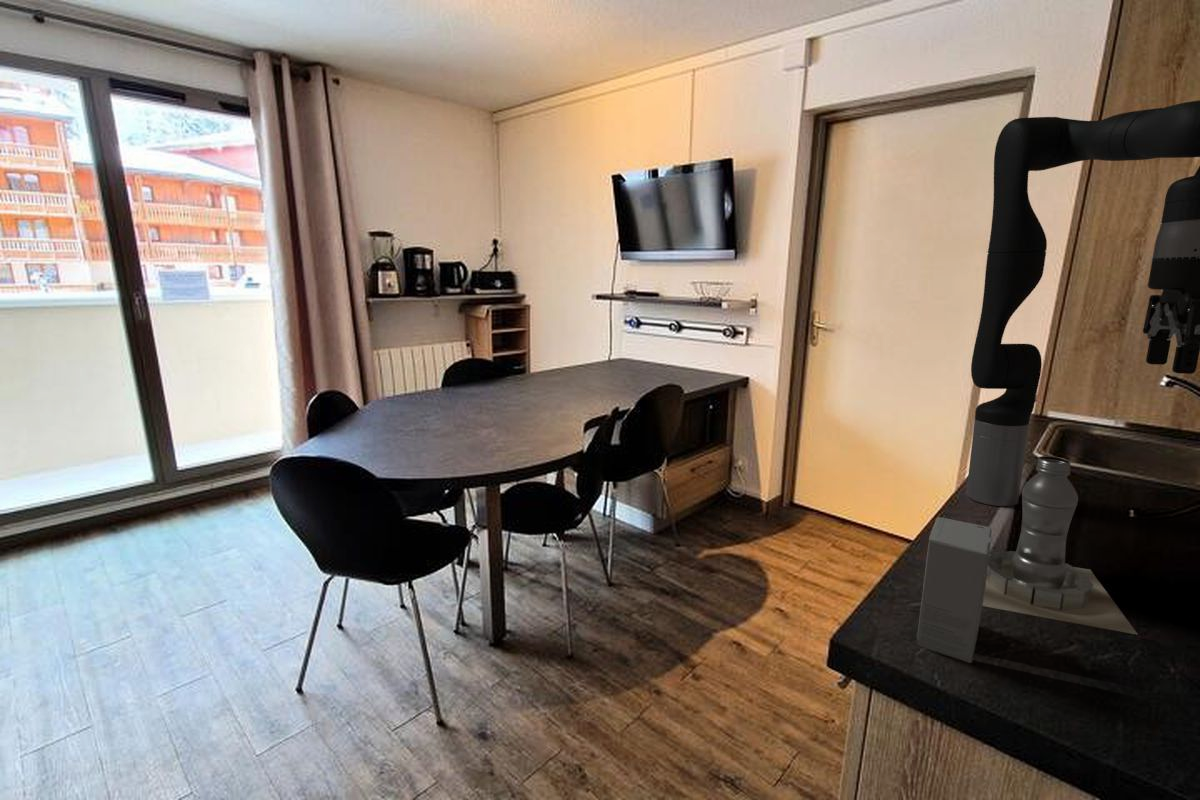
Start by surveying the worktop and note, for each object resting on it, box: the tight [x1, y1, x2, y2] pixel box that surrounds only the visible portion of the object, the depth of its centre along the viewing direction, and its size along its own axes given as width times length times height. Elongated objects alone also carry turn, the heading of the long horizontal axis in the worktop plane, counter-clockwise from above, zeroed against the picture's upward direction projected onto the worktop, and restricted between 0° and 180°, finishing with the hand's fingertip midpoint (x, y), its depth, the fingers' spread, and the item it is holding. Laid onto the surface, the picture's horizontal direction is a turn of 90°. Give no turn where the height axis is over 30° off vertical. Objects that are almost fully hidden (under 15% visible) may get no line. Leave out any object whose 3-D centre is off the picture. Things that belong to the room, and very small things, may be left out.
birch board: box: [982, 553, 1139, 636], centre depth 84 cm, size 18×18×1 cm
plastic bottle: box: [1011, 455, 1079, 589], centre depth 82 cm, size 6×7×20 cm
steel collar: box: [986, 550, 1093, 610], centre depth 84 cm, size 12×12×2 cm
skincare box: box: [915, 516, 993, 664], centre depth 72 cm, size 8×7×16 cm
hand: (1168, 368), depth 81 cm, fingers open, 8 cm apart
